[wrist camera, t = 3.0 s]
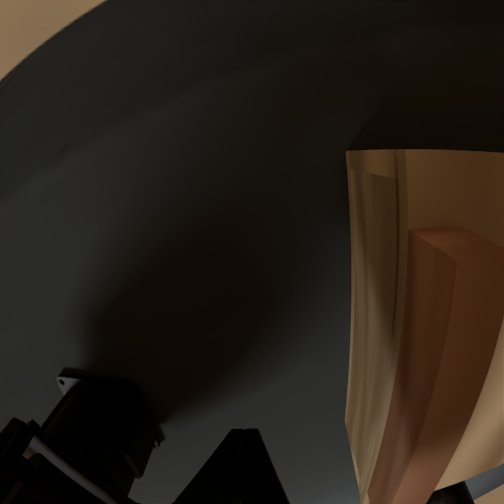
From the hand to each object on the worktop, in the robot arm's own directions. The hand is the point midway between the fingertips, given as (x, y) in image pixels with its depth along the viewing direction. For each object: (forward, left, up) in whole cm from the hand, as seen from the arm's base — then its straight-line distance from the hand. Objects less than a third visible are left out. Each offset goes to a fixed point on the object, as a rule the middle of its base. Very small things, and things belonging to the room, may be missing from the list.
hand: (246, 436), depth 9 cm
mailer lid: (+14, 0, -1) cm, 14 cm away
